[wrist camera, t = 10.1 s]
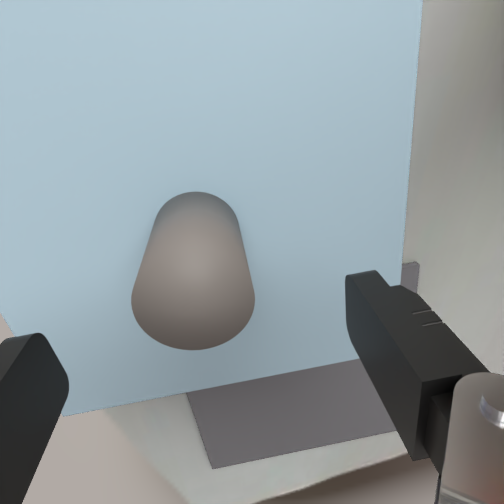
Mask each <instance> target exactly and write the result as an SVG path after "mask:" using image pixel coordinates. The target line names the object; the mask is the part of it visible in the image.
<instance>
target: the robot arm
mask: <svg viewBox="0 0 504 504" xmlns="http://www.w3.org/2000/svg"><path fill="white" fill-rule="evenodd" d="M345 305H346V325H347V330H348V334H349V337H350V340H351V343H352V345H353V347H354V349H355V350H356V352H357V354H358V356H359V358H360V360H361V362H362V364H363V366H364V368H365V370H366V372H367V374H368V376H369V378H370V379H371V381H372V383H373V385H374V387H375V389H376V391H377V393H378V395H379V397H380V399H381V401H382V403H383V405H384V407H385V408H386V410H387V412H388V414H389V416H390V418H391V420H392V422H393V424H394V426H395V428H396V430H397V432H398V434H399V435H400V437H401V439H402V441H403V443H404V445H405V447H406V449H407V451H408V453H409V455H410V457H411V459H412V461H416V460H421V459H425V458H430V459H431V461H432V462H433V464H434V466H435V468H436V469H437V471H438V473H439V474H438V480H437V487H436V494H435V502H434V504H504V375H500V374H495V373H491V372H489V371H488V370H487V368H486V367H485V366H484V365H483V364H482V363H481V362H480V361H479V360H478V359H477V358H476V357H475V355H474V354H473V353H472V352H471V351H470V350H469V349H468V348H467V347H466V346H465V345H464V344H463V342H462V341H461V340H460V339H459V338H458V337H457V336H456V335H455V334H454V333H453V332H452V331H451V329H450V328H449V327H448V326H447V325H446V324H445V323H442V320H441V319H440V318H439V316H438V315H437V314H436V313H435V312H434V311H431V308H430V307H429V306H428V305H427V303H426V302H425V301H424V300H423V299H422V298H421V297H420V296H419V295H418V294H416V293H414V292H413V291H411V290H409V289H407V288H405V287H403V286H401V285H395V286H389V284H388V283H387V282H386V281H385V280H384V278H383V277H382V276H381V275H380V274H379V272H378V271H376V270H371V271H365V272H360V273H355V274H349V275H346V277H345ZM68 393H69V379H68V376H67V373H66V371H65V370H64V368H63V366H62V364H61V363H60V361H59V359H58V357H57V356H56V354H55V352H54V350H53V349H52V347H51V345H50V343H49V342H48V340H47V338H46V337H45V336H44V335H43V334H41V333H33V334H27V335H22V336H17V337H12V338H7V339H5V340H4V341H3V342H2V343H1V344H0V504H22V502H23V500H24V497H25V495H26V493H27V490H28V488H29V486H30V483H31V481H32V479H33V476H34V474H35V472H36V469H37V467H38V465H39V462H40V460H41V458H42V455H43V453H44V451H45V448H46V446H47V444H48V442H49V439H50V437H51V435H52V432H53V430H54V428H55V425H56V423H57V421H58V418H59V416H60V414H61V411H62V409H63V407H64V404H65V402H66V400H67V397H68Z"/></svg>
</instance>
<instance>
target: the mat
mask: <svg viewBox="0 0 504 504" xmlns="http://www.w3.org/2000/svg"><path fill="white" fill-rule="evenodd" d="M419 266H420V265H419V264H418V263H417V262H413V263H407V264H402V269H401V282H400V285H401V286H403V287H405V288H407V289H409V290H411V291H413V292H414V293H416V294H417V286H418V276H419ZM186 393H187V396H188V399H189V402H190V405H191V408H192V411H193V413H194V416H195V419H196V422H197V425H198V428H199V431H200V434H201V437H202V440H203V443H204V446H205V449H206V452H207V455H208V458H209V460H210V463H211V466H212V469H216V468H221V467H226V466H231V465H235V464H240V463H245V462H250V461H254V460H259V459H264V458H269V457H273V456H278V455H283V454H288V453H292V452H297V451H302V450H307V449H311V448H316V447H321V446H326V445H330V444H335V443H340V442H345V441H349V440H354V439H359V438H364V437H368V436H373V435H378V434H383V433H387V432H392V431H397V430H396V428H395V426H394V424H393V422H392V420H391V418H390V416H389V414H388V412H387V410H386V408H385V407H384V405H383V403H382V401H381V399H380V397H379V395H378V393H377V391H376V389H375V387H374V385H373V383H372V381H371V379H370V378H369V376H368V374H367V372H366V370H365V368H364V366H363V364H362V362H361V360H360V358H359V359H354V360H349V361H344V362H339V363H334V364H329V365H324V366H319V367H313V368H308V369H303V370H298V371H293V372H288V373H283V374H278V375H273V376H268V377H263V378H257V379H252V380H247V381H242V382H237V383H232V384H227V385H222V386H217V387H212V388H206V389H201V390H196V391H191V392H186Z"/></svg>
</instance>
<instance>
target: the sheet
mask: <svg viewBox="0 0 504 504" xmlns="http://www.w3.org/2000/svg"><path fill="white" fill-rule="evenodd" d="M422 5H423V0H0V313H1V314H2V316H3V318H4V320H5V321H6V323H7V324H8V326H9V328H10V329H11V331H12V333H13V334H14V336H15V337H17V336H22V335H27V334H33V333H41V334H43V335H44V336H45V337H46V338H47V340H48V342H49V343H50V345H51V347H52V349H53V350H54V352H55V354H56V356H57V357H58V359H59V361H60V363H61V364H62V366H63V368H64V370H65V371H66V373H67V376H68V379H69V393H68V397H67V400H66V402H65V404H64V407H63V409H62V411H61V413H62V415H63V416H68V415H74V414H79V413H84V412H89V411H94V410H100V409H105V408H110V407H115V406H120V405H125V404H130V403H135V402H140V401H145V400H150V399H156V398H161V397H166V396H171V395H176V394H181V393H186V392H191V391H196V390H201V389H206V388H212V387H217V386H222V385H227V384H232V383H237V382H242V381H247V380H252V379H257V378H263V377H268V376H273V375H278V374H283V373H288V372H293V371H298V370H303V369H308V368H313V367H319V366H324V365H329V364H334V363H339V362H344V361H349V360H354V359H359V356H358V354H357V352H356V350H355V349H354V347H353V345H352V343H351V340H350V337H349V334H348V330H347V325H346V305H345V277H346V275H349V274H355V273H360V272H365V271H371V270H376V271H378V272H379V274H380V275H381V276H382V277H383V278H384V280H385V281H386V282H387V283H388V284H389V286H395V285H400V282H401V269H402V257H403V244H404V232H405V219H406V206H407V194H408V181H409V169H410V156H411V143H412V131H413V118H414V106H415V93H416V80H417V68H418V55H419V43H420V30H421V17H422Z"/></svg>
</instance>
